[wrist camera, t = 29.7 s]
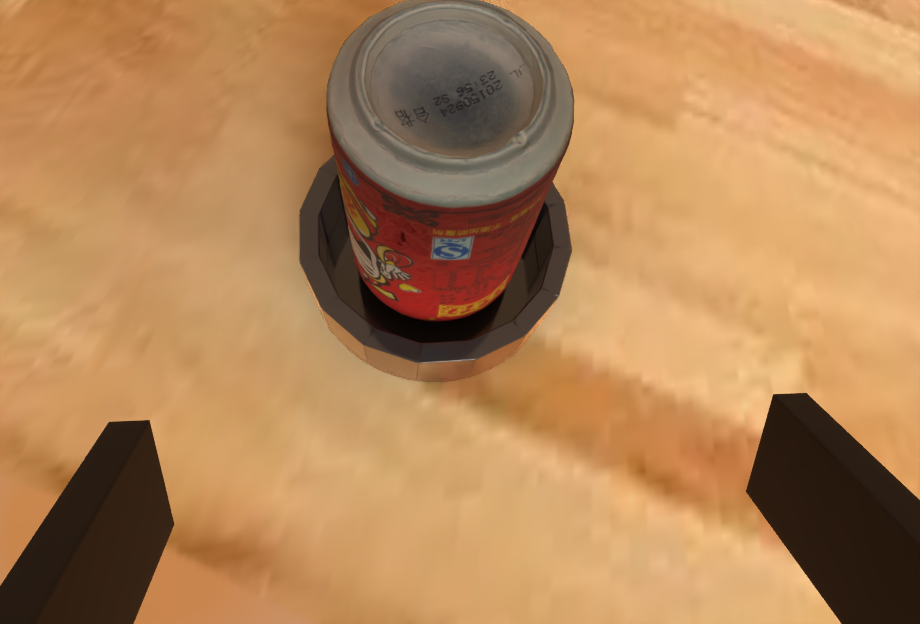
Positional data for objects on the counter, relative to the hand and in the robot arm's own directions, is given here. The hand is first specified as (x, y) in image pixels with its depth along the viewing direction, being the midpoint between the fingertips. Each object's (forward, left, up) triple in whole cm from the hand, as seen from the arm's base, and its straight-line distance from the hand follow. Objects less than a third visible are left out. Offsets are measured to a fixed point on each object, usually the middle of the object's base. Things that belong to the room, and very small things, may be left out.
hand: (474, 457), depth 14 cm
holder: (+4, +9, -13) cm, 16 cm away
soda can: (+4, +9, -13) cm, 16 cm away
